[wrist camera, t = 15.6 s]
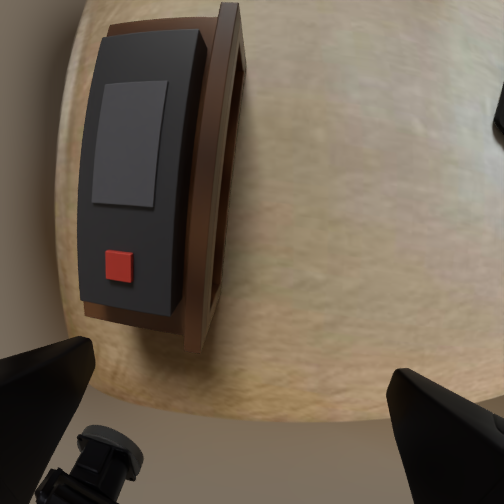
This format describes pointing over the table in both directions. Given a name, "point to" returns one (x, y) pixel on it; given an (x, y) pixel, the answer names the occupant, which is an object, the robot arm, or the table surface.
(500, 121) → the smartphone
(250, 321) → the table surface
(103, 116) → the remote
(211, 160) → the shelf
